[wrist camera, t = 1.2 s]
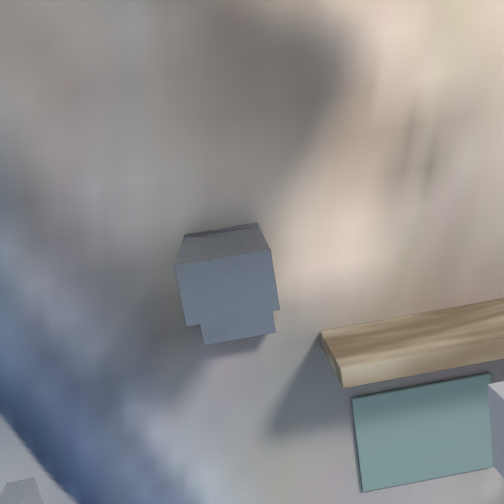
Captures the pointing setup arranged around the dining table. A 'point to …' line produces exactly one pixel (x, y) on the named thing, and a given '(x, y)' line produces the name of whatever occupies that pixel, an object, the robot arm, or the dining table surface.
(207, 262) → the angle block
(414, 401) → the mat
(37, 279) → the dining table surface
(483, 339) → the wooden corner frame
